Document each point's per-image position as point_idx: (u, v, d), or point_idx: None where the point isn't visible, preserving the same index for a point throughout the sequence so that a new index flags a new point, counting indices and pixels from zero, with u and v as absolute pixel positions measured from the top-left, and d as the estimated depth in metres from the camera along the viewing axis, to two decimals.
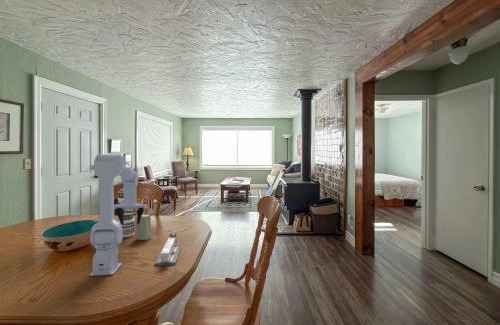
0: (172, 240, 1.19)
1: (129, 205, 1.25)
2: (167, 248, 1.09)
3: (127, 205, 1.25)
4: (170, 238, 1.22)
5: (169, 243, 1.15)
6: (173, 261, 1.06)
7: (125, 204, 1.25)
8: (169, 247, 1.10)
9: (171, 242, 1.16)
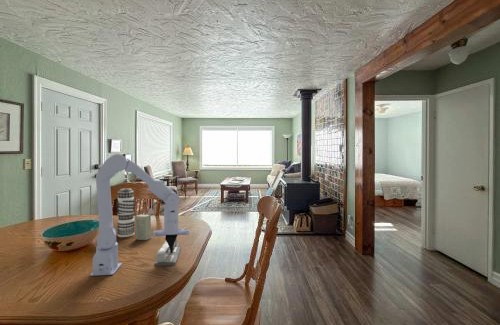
0: None
1: (171, 232, 1.08)
2: (165, 248, 1.09)
3: (169, 232, 1.08)
4: None
5: (167, 243, 1.15)
6: (173, 261, 1.06)
7: (166, 231, 1.08)
8: (166, 247, 1.10)
9: None
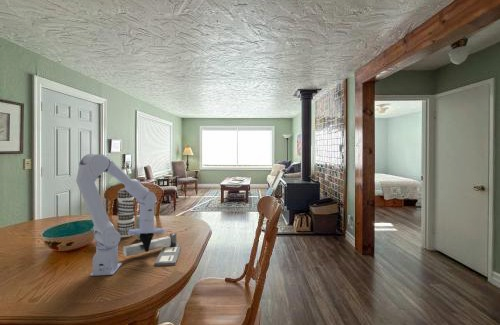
0: (160, 239, 1.20)
1: (146, 230, 1.10)
2: (137, 244, 1.13)
3: (144, 230, 1.10)
4: (165, 237, 1.23)
5: (151, 241, 1.18)
6: (173, 261, 1.06)
7: (141, 229, 1.10)
8: (141, 244, 1.14)
9: (154, 240, 1.18)
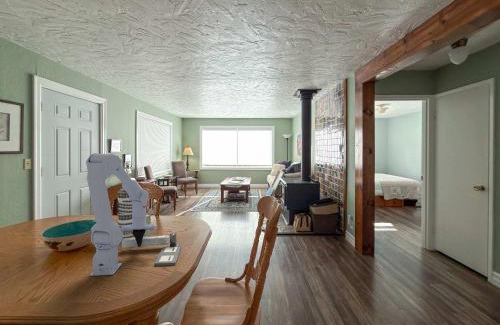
0: (158, 237, 1.23)
1: (138, 226, 1.16)
2: (134, 238, 1.21)
3: (136, 226, 1.16)
4: (165, 236, 1.25)
5: (149, 237, 1.23)
6: (173, 261, 1.06)
7: (134, 225, 1.16)
8: None
9: (152, 237, 1.22)
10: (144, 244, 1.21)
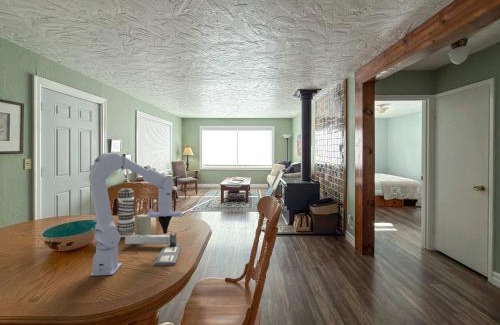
0: (158, 236, 1.25)
1: (165, 213, 1.16)
2: (137, 236, 1.25)
3: (163, 213, 1.16)
4: (165, 235, 1.26)
5: (150, 235, 1.25)
6: (173, 261, 1.06)
7: (160, 212, 1.16)
8: (139, 236, 1.24)
9: (152, 236, 1.25)
10: (145, 242, 1.24)
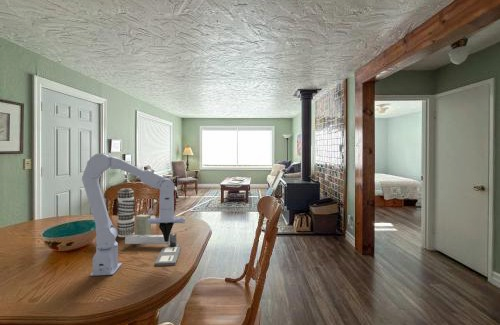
0: (158, 236, 1.25)
1: (166, 219, 1.05)
2: (137, 236, 1.25)
3: (164, 219, 1.05)
4: None
5: (150, 235, 1.25)
6: (173, 261, 1.06)
7: (161, 218, 1.06)
8: (139, 236, 1.24)
9: (152, 236, 1.25)
10: (145, 242, 1.24)
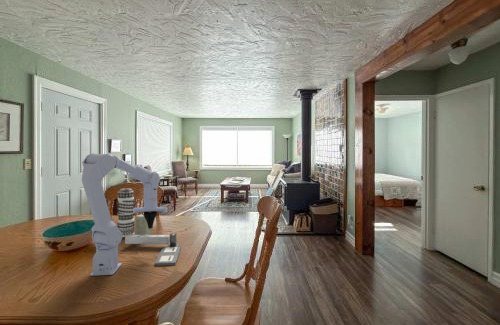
0: (158, 236, 1.25)
1: (150, 208, 1.17)
2: (137, 236, 1.25)
3: (148, 208, 1.17)
4: (165, 235, 1.26)
5: (150, 235, 1.25)
6: (173, 261, 1.06)
7: (145, 207, 1.17)
8: (139, 236, 1.24)
9: (152, 236, 1.25)
10: (145, 242, 1.24)
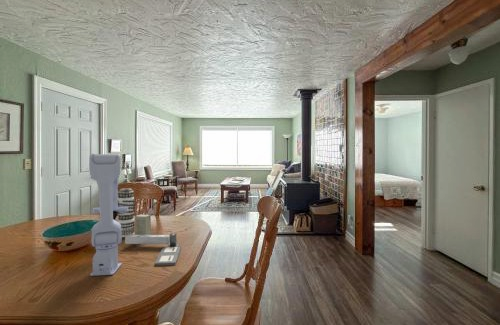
0: (158, 236, 1.25)
1: None
2: (137, 236, 1.25)
3: None
4: (165, 235, 1.26)
5: (150, 235, 1.25)
6: (173, 261, 1.06)
7: None
8: (139, 236, 1.24)
9: (152, 236, 1.25)
10: (145, 242, 1.24)
